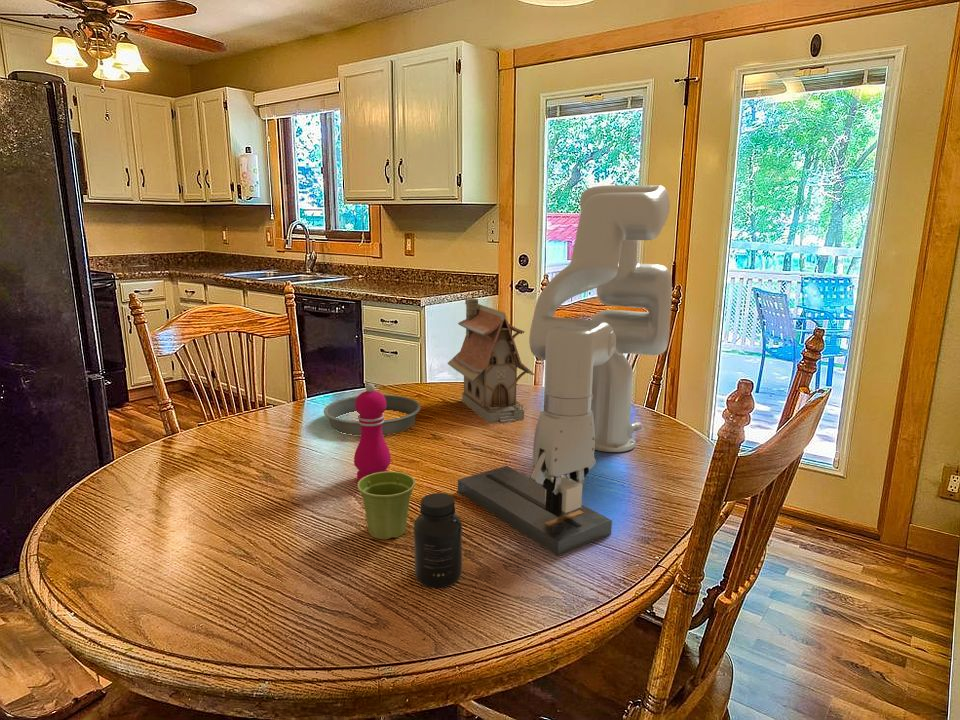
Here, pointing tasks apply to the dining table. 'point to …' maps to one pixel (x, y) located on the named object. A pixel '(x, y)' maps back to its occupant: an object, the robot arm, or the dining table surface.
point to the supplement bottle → (438, 542)
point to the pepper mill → (371, 434)
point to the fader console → (533, 510)
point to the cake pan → (388, 426)
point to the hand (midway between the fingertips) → (562, 508)
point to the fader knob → (569, 494)
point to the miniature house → (489, 364)
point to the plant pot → (386, 502)
